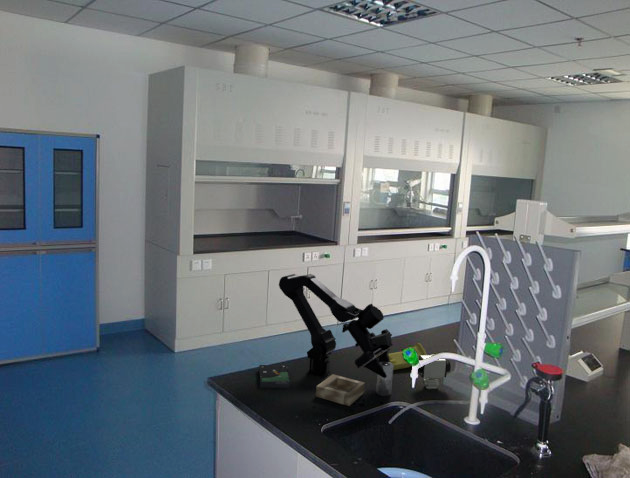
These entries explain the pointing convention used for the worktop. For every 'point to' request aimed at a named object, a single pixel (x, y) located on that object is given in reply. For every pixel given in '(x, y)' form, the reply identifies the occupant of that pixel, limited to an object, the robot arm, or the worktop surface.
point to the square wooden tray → (340, 389)
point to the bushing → (385, 379)
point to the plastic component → (398, 357)
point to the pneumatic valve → (433, 371)
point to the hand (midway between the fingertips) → (389, 374)
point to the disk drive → (274, 376)
